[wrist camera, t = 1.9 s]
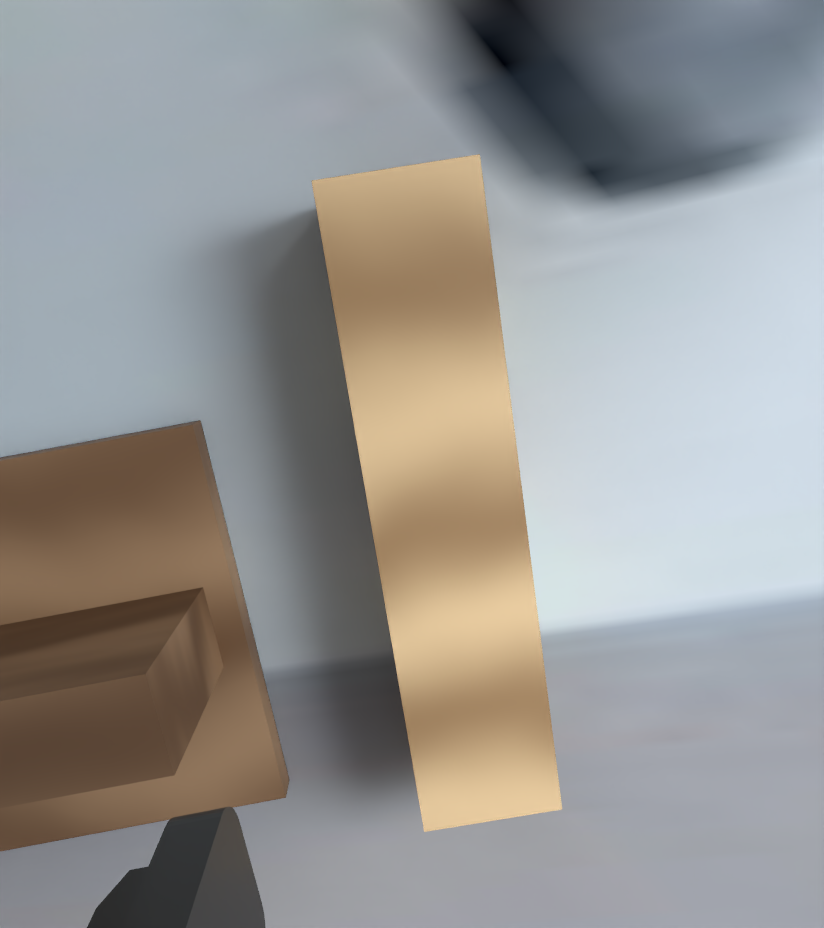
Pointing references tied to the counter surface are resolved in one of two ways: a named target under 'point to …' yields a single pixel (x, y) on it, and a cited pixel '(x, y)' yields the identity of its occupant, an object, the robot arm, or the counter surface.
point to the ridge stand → (124, 643)
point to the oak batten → (442, 483)
